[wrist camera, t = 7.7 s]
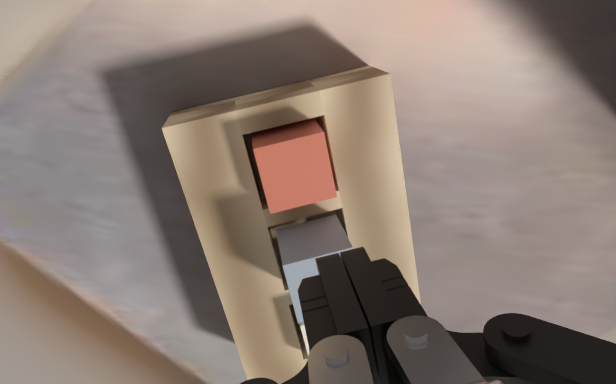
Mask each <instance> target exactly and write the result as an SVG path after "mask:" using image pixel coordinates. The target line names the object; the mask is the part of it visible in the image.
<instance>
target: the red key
mask: <svg viewBox="0 0 616 384" xmlns="http://www.w3.org/2000/svg"><path fill="white" fill-rule="evenodd" d="M251 139H252V146H253V151H254V155H255V159H256V163H257V166H258V170H259V174H260V178H261V181H262V185H263V189H264V193H265V196H266V200H267V204H268V208H269V211H270V214H273V213H277V212H281V211H284V210H288V209H292V208H296V207H300V206H304V205H308V204H312V203H316V202H320V201H324V200H328V199H332V198H335V197H337V194H336V189H335V184H334V179H333V174H332V169H331V164H330V159H329V154H328V149H327V144H326V139H325V134H324V131H323V130H322V128H321V127H320V126H319V124H318V123H317V122H316V121H315V119H314V118H310V119H306V120H302V121H298V122H294V123H289V124H285V125H281V126H277V127H273V128H269V129H265V130H261V131H256V132H252V133H251Z"/></svg>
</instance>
